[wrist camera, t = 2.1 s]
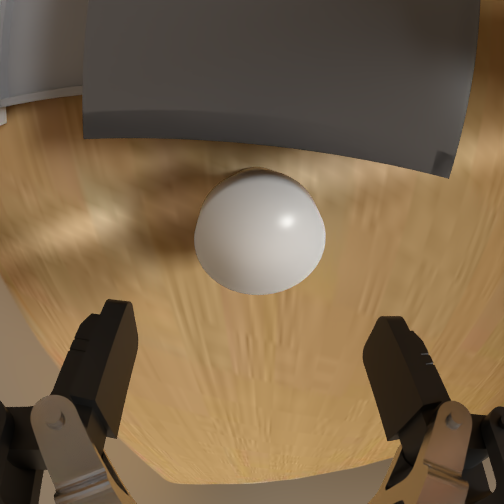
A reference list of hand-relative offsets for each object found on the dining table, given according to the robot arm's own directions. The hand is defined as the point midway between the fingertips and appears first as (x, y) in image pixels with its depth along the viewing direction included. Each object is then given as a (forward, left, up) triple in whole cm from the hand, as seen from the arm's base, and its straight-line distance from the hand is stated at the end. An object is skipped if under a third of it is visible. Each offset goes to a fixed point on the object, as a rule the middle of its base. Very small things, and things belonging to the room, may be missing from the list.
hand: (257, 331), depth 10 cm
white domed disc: (0, 0, -7) cm, 7 cm away
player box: (0, -11, -11) cm, 16 cm away
